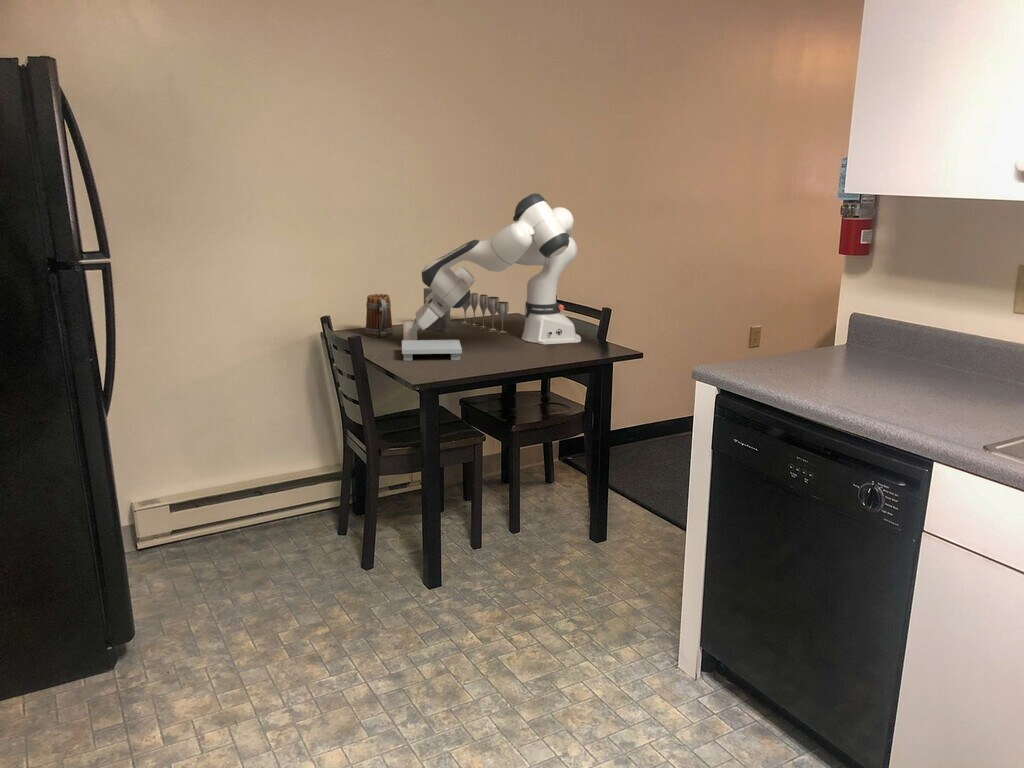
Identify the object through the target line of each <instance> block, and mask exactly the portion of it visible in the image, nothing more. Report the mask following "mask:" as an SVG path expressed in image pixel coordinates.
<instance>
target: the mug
mask: <svg viewBox="0 0 1024 768" xmlns="http://www.w3.org/2000/svg"><path fill="white" fill-rule="evenodd" d="M365 303H366V318H365V319H366V320H365V329H364V332H365V335H366V336H368V337H371V338H387V337H391V336H392V335H393V334H394V327H393V319H392V309H391V307H392V304H391V300H390V295H389V294H384V293H379V294H378V293H374V294H368V295H367V298H366V302H365Z"/></svg>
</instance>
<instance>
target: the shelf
mask: <svg viewBox="0 0 1024 768" xmlns="http://www.w3.org/2000/svg"><path fill="white" fill-rule="evenodd" d="M462 353H463V348H462V345H461V342H460V339H417V340H403V339H401V354H402V355H403V361H407V362H408V361H413V360H414V359H413V355H432V354H433V355H435V354H437V355H439V354H440V355H442V354H443V355H445V354H446V355H447V354H449V357H450V356H451V357H450V359H451V361H460V360H461V354H462Z"/></svg>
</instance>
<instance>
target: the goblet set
mask: <svg viewBox="0 0 1024 768" xmlns="http://www.w3.org/2000/svg"><path fill="white" fill-rule="evenodd" d="M478 305H479V308H480V310H481V313H482V326H481V327H485V323H484V322H485V314H486V313H485V312H486V311H488V312H489V313H490V315H491V323H492V324H491V326H492V328H489V329H490V330H496V329H497V328H494V318H495V315H496V313H497V314H498V315H499V318H500V320H501V330H500V332H505V330H504V321H505V318H506V316H507V314H508V313H509V310H510V305H509V302H508V301H500V297H498V296H488V294H479V293H477V292H474V293H473V292H472V293H471V292H470V299H469V300H467V301H466V302H465V303H464V304H463V305H462V306H461V308H462V309H463V311H464V321H462V322H463V323H466V322H467V321H466V318H467V311H468V308H469V307H470V306H471V309H472V311H473V312H472V313H473V323H472V325H476V323H475V322H476V321H475V320H476V319H475V316H476V310H477V308H478Z"/></svg>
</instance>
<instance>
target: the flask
mask: <svg viewBox="0 0 1024 768" xmlns="http://www.w3.org/2000/svg"><path fill="white" fill-rule="evenodd" d="M432 291H433V290H432V289H431V288H429V287H425V288H423V305H424V304H425V303H426V302H427V301H426V300H425V298H426V297H427V296H428V295H429V294H430V293H431V292H432ZM428 328H429V329H428V330H431V329H434V330H433V331H436V330H437V331H436V332H439V331H441V332H440V333H442V332H443V333H442V334H450V333H451V308H450V309H449V310H448V311H447V312H446V313H445V314H444V315H443V316H442V317H439V318H438V319H437V320H436V321H435V322H433V323H432V324H431V325H430V326H429V327H428Z"/></svg>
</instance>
